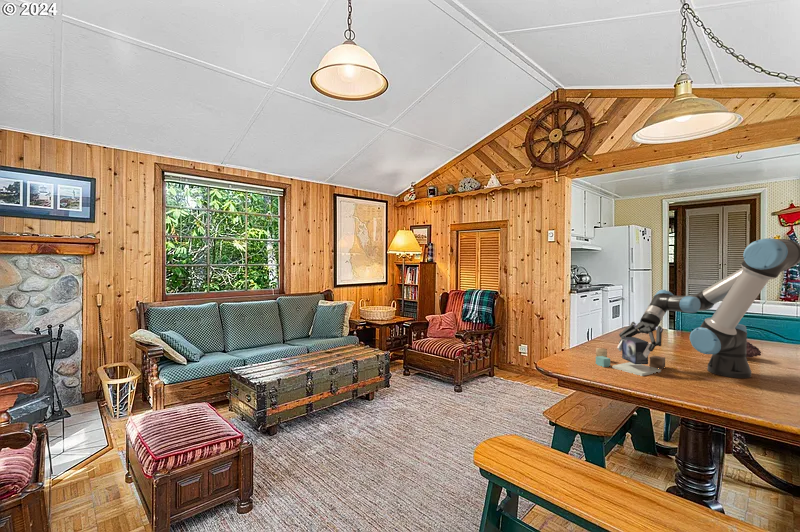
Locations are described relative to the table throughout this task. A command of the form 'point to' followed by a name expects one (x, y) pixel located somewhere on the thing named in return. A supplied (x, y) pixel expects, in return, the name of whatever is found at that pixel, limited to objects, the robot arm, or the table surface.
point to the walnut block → (657, 362)
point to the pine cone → (752, 350)
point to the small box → (634, 350)
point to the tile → (636, 368)
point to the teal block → (603, 361)
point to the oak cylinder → (601, 352)
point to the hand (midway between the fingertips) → (631, 352)
